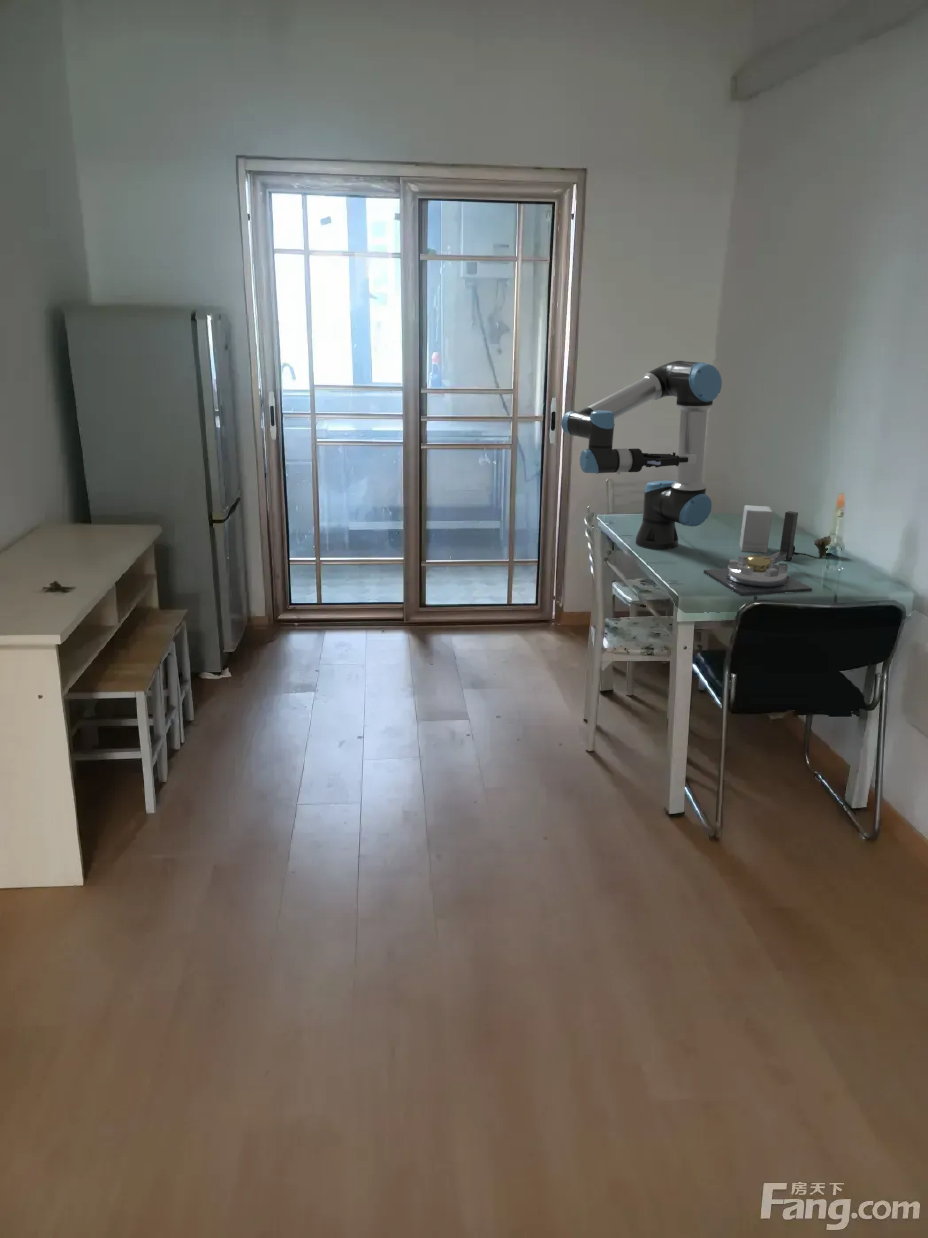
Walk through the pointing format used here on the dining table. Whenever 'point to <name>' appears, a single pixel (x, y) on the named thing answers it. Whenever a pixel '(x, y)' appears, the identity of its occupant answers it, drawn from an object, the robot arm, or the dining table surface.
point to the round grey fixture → (774, 573)
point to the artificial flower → (820, 545)
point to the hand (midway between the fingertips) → (695, 458)
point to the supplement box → (755, 528)
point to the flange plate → (742, 589)
